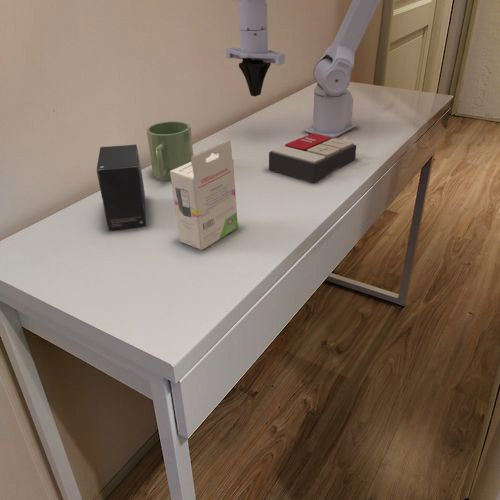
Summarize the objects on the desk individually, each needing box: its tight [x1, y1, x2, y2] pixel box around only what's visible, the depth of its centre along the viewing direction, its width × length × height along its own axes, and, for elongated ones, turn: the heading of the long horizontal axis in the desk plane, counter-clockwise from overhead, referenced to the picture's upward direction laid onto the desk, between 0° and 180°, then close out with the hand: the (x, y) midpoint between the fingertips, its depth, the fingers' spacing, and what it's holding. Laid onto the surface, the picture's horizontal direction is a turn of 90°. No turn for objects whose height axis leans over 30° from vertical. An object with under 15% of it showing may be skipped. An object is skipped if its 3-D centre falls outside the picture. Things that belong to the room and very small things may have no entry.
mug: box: [146, 120, 194, 181], centre depth 96 cm, size 11×8×9 cm
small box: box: [96, 144, 147, 231], centre depth 82 cm, size 11×6×10 cm, turn 12°
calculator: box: [268, 133, 357, 183], centre depth 99 cm, size 11×4×15 cm
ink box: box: [170, 138, 239, 251], centre depth 74 cm, size 9×5×15 cm, turn 141°
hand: (255, 95), depth 111 cm, fingers closed
